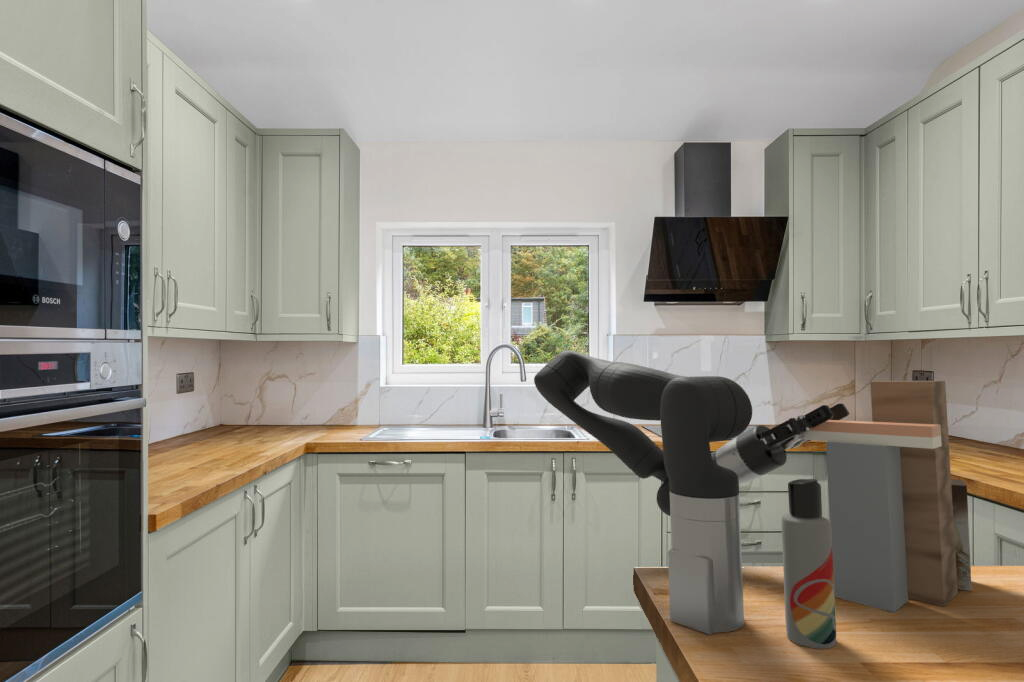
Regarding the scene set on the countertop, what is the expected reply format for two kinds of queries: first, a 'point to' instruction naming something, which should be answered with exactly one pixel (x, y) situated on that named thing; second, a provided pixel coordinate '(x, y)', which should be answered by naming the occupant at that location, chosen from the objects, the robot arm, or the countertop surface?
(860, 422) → the bar
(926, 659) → the countertop surface
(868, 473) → the grey stand
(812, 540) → the lotion bottle
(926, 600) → the walnut stand
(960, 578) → the coffee box
